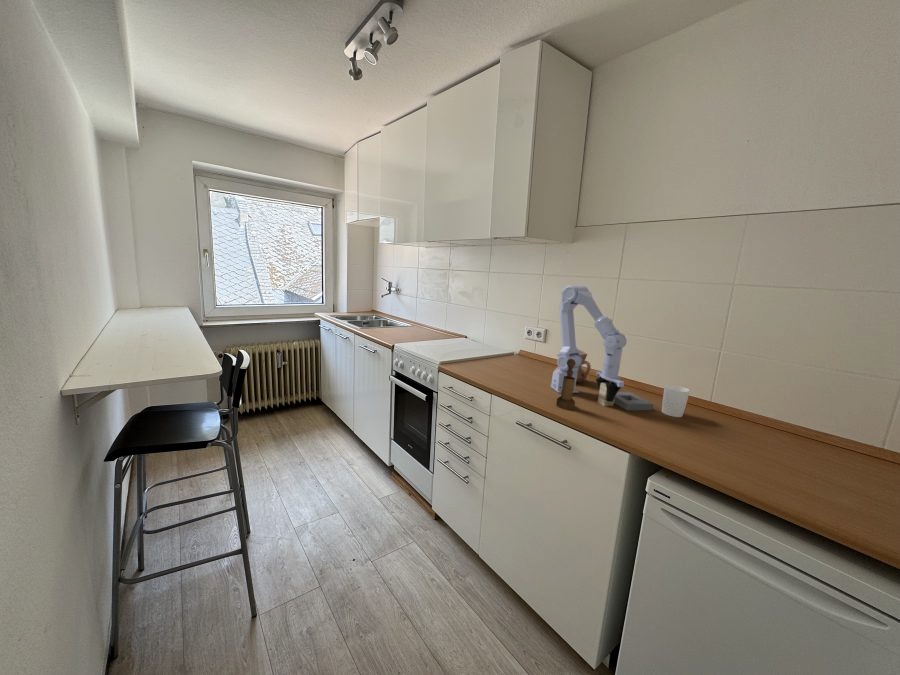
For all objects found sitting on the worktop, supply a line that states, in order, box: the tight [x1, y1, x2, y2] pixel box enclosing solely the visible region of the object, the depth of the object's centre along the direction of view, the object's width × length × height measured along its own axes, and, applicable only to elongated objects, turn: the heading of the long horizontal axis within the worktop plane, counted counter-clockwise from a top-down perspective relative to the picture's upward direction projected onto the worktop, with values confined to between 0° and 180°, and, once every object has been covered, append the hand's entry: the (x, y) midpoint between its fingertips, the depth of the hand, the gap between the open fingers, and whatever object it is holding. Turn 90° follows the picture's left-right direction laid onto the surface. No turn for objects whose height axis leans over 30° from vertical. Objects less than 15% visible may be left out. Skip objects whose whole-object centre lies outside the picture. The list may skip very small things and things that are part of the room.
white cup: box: [661, 384, 691, 418], centre depth 133 cm, size 8×8×10 cm
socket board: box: [614, 391, 654, 411], centre depth 141 cm, size 11×13×2 cm
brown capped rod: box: [555, 359, 576, 410], centre depth 132 cm, size 7×6×18 cm
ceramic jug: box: [554, 347, 592, 383], centre depth 167 cm, size 18×14×14 cm
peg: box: [597, 383, 615, 407], centre depth 138 cm, size 4×4×8 cm
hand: (606, 399), depth 139 cm, fingers closed on peg, 4 cm apart
